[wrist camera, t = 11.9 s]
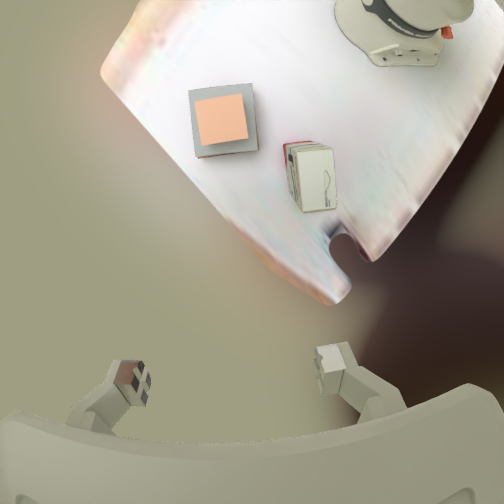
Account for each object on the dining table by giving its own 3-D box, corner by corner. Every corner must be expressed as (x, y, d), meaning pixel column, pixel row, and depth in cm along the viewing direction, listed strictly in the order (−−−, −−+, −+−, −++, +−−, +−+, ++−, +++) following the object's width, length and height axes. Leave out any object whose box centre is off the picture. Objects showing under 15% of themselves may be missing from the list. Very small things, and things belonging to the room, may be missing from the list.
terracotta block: (240, 99, 31) (241, 93, 25) (246, 136, 33) (248, 138, 27) (201, 105, 31) (194, 101, 25) (207, 142, 33) (201, 146, 27)
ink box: (281, 143, 42) (296, 150, 32) (310, 140, 42) (334, 146, 32) (288, 192, 46) (303, 215, 36) (316, 189, 46) (338, 210, 36)
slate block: (250, 88, 34) (252, 83, 30) (255, 147, 38) (257, 150, 34) (194, 94, 34) (188, 90, 30) (200, 153, 38) (195, 157, 34)
